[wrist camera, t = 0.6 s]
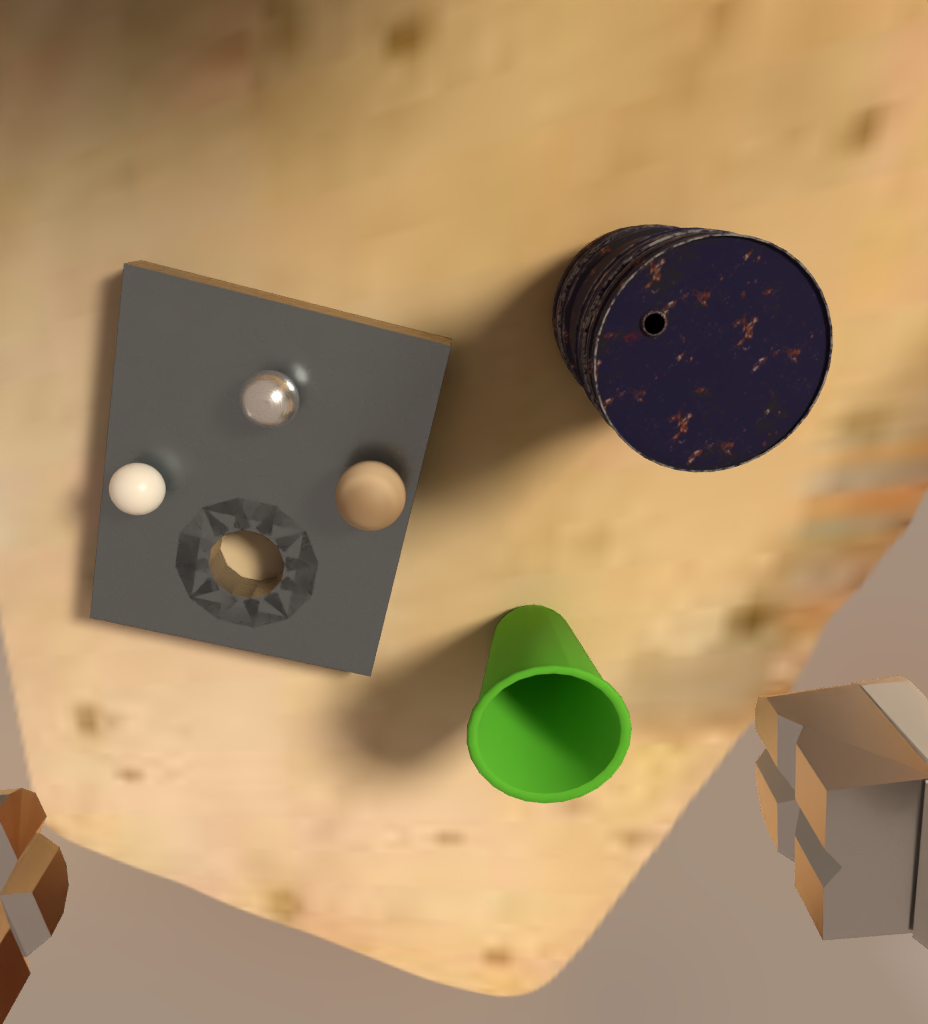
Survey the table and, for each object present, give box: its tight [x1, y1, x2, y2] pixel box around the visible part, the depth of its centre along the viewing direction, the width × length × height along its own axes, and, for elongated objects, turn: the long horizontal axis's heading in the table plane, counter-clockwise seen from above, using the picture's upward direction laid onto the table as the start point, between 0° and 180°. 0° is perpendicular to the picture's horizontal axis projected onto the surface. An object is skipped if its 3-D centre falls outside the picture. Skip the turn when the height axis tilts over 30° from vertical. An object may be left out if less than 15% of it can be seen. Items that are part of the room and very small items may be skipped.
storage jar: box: [553, 224, 833, 472], centre depth 39 cm, size 10×10×15 cm
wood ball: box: [335, 460, 406, 531], centre depth 45 cm, size 4×4×4 cm
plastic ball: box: [109, 463, 166, 515], centre depth 45 cm, size 3×3×3 cm
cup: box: [467, 605, 632, 803], centre depth 49 cm, size 9×9×11 cm
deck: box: [90, 260, 451, 676], centre depth 48 cm, size 22×18×2 cm
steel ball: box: [239, 370, 299, 429], centre depth 44 cm, size 3×3×3 cm
